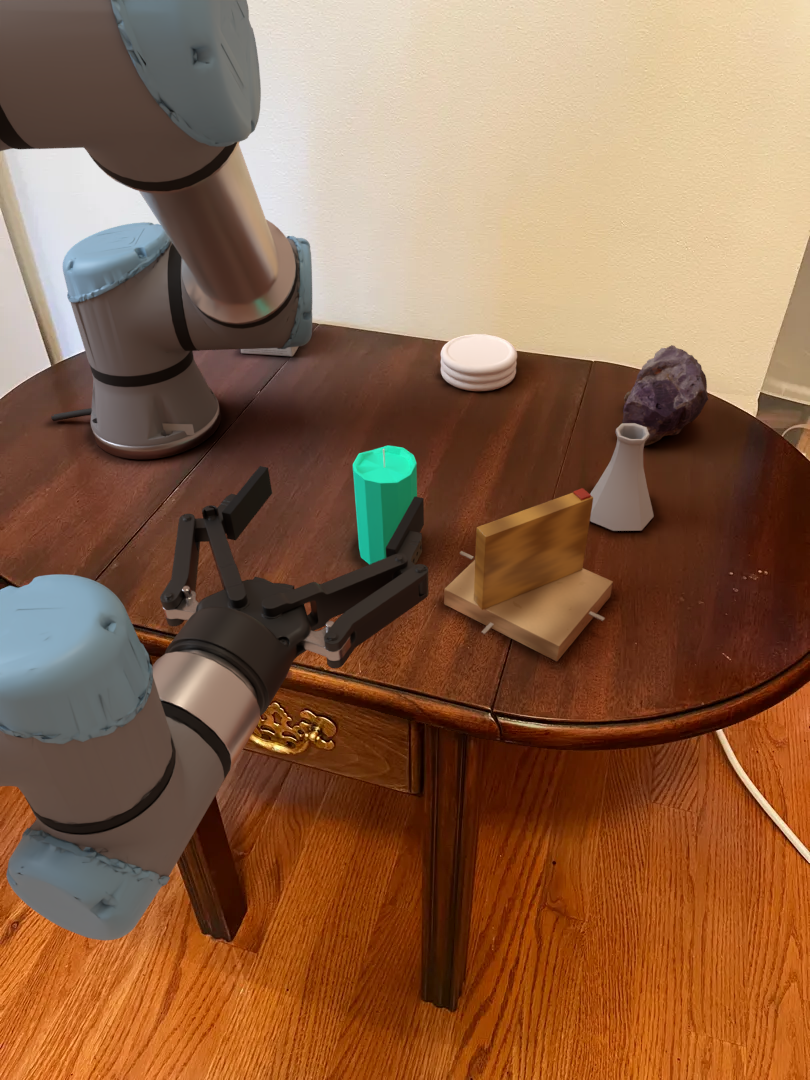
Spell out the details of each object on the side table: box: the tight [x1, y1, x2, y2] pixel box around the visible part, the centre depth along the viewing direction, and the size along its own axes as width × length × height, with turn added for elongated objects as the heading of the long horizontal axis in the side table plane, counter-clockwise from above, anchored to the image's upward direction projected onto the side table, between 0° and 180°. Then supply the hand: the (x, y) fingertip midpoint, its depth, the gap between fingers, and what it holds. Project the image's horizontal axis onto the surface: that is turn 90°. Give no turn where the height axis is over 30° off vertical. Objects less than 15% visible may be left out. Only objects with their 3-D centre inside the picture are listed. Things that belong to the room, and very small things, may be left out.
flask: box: [589, 423, 655, 532], centre depth 85 cm, size 7×7×10 cm
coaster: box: [440, 333, 518, 392], centre depth 110 cm, size 10×10×4 cm
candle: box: [352, 445, 418, 565], centre depth 80 cm, size 6×6×12 cm
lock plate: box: [443, 550, 614, 662], centre depth 77 cm, size 15×15×2 cm
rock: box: [621, 344, 709, 446], centre depth 98 cm, size 12×9×10 cm
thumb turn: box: [474, 487, 593, 610], centre depth 74 cm, size 11×2×9 cm, turn 118°
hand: (340, 494), depth 69 cm, fingers open, 13 cm apart
